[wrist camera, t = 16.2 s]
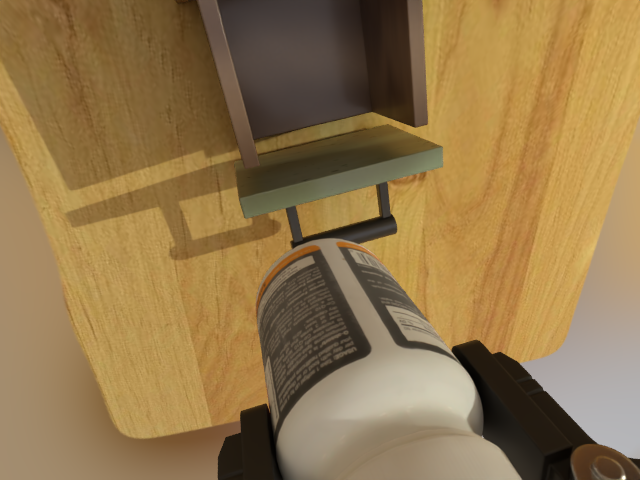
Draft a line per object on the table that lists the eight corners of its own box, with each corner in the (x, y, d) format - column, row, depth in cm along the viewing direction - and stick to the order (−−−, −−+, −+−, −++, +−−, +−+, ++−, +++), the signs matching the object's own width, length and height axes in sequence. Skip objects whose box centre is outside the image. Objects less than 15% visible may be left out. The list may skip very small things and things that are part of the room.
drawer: (395, 200, 31) (446, 242, 24) (256, 238, 29) (267, 294, 22) (363, -138, 21) (432, -231, 14) (154, -107, 20) (119, -193, 13)
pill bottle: (272, 360, 17) (321, 675, 8) (238, 252, 14) (260, 548, 6) (390, 326, 18) (548, 584, 9) (379, 216, 15) (588, 434, 6)
